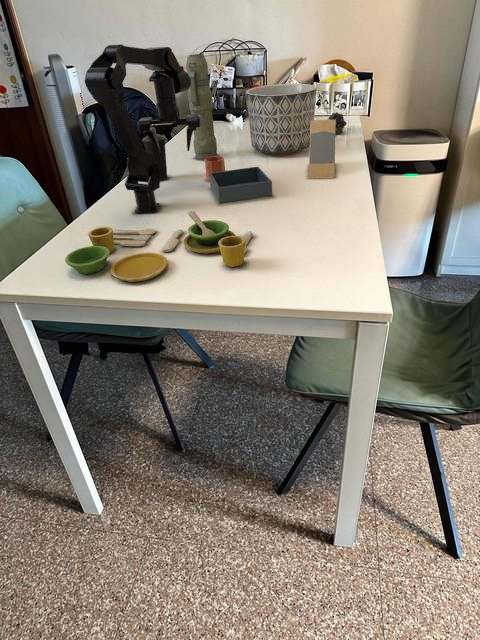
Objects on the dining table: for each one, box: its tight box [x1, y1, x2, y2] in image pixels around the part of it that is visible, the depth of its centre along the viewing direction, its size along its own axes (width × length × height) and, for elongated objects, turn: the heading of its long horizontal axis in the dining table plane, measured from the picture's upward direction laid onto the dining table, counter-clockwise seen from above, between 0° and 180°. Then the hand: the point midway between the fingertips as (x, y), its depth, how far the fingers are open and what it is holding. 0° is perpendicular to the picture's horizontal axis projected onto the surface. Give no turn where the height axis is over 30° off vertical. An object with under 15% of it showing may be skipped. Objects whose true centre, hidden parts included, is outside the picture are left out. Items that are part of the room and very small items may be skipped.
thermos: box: [185, 53, 218, 161], centre depth 167 cm, size 9×12×35 cm
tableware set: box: [64, 209, 254, 283], centre depth 106 cm, size 41×28×6 cm
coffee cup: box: [204, 155, 226, 182], centre depth 151 cm, size 6×6×7 cm
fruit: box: [327, 112, 348, 135], centre depth 194 cm, size 9×8×15 cm
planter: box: [245, 83, 318, 157], centre depth 171 cm, size 26×26×22 cm
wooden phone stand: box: [308, 119, 337, 179], centre depth 148 cm, size 9×15×15 cm, turn 172°
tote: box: [209, 166, 273, 205], centre depth 139 cm, size 16×16×5 cm
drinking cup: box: [141, 133, 168, 182], centre depth 152 cm, size 8×8×20 cm
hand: (173, 152), depth 140 cm, fingers open, 9 cm apart
